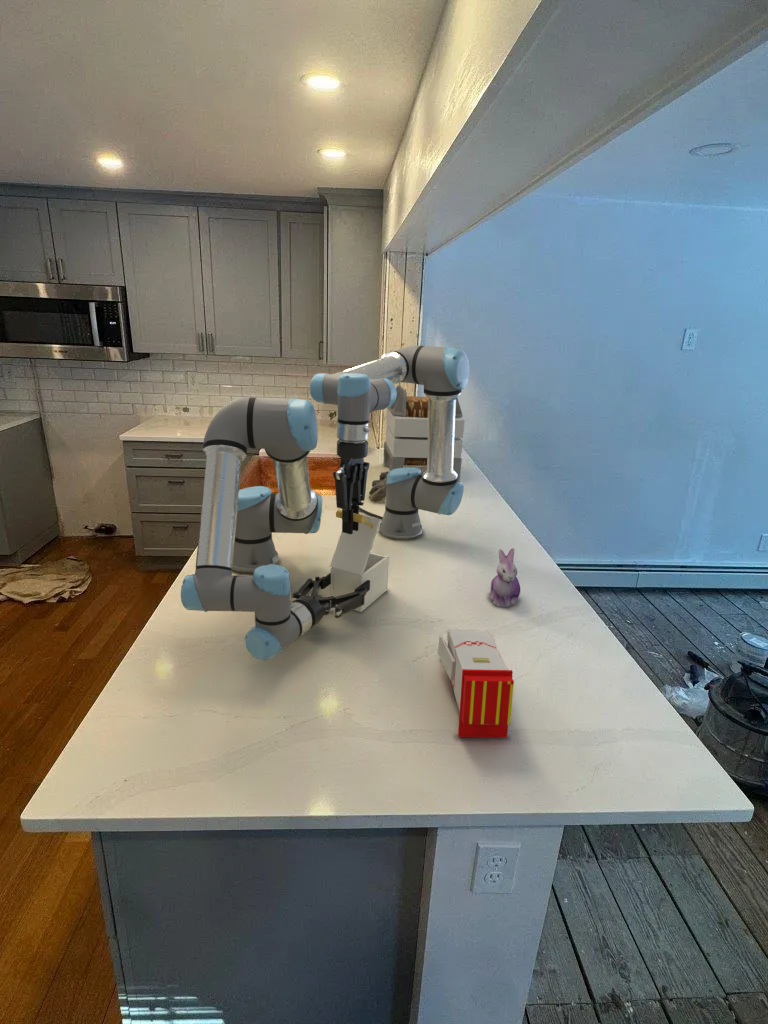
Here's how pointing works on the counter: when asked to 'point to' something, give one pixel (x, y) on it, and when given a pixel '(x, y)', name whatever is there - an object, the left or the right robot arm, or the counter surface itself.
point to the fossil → (378, 488)
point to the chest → (363, 579)
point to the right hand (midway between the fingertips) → (350, 531)
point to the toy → (478, 682)
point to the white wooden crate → (414, 433)
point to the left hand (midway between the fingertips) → (351, 579)
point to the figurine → (505, 581)
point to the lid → (355, 545)
